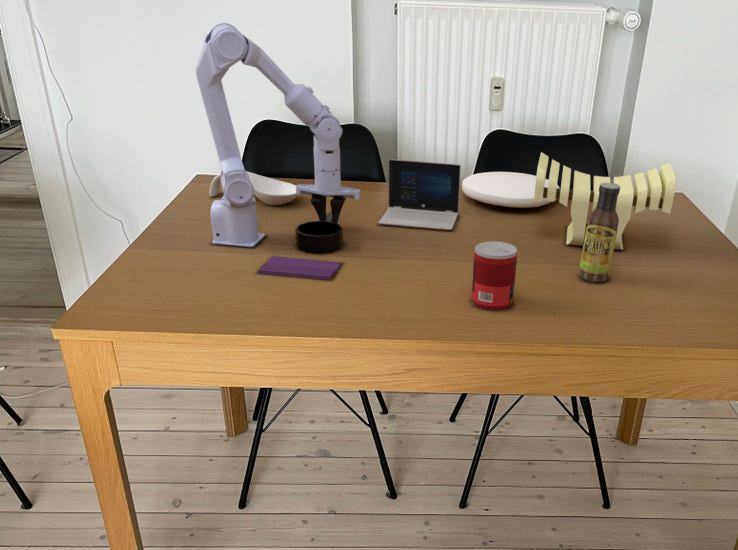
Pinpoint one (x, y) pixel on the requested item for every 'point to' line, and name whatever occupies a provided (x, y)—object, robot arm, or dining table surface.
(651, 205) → the slatted curved stool
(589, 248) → the sauce bottle
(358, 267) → the dining table surface
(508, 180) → the plate
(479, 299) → the canned food
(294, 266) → the rag
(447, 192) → the laptop
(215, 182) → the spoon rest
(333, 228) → the pan
